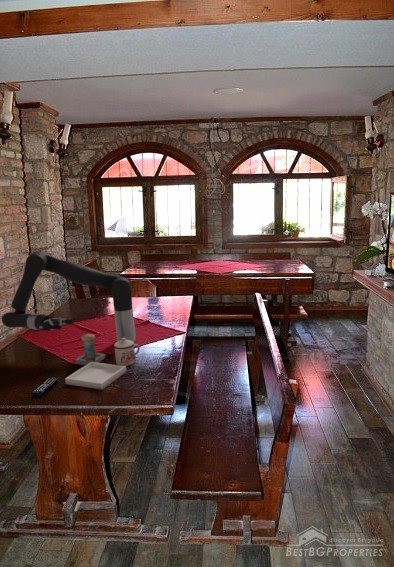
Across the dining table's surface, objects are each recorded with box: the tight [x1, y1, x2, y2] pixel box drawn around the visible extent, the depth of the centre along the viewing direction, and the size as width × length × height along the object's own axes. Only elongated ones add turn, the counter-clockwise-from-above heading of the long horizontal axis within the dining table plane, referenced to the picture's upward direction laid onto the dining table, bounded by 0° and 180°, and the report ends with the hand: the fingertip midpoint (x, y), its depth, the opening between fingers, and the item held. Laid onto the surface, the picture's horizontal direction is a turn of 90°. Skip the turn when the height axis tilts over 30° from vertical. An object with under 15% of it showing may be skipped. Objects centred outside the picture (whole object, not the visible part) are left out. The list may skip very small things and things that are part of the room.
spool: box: [81, 333, 97, 360], centre depth 208 cm, size 6×6×12 cm
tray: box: [64, 362, 127, 390], centre depth 190 cm, size 18×18×2 cm
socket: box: [74, 352, 106, 366], centre depth 209 cm, size 10×10×2 cm
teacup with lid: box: [113, 338, 141, 367], centre depth 205 cm, size 12×9×12 cm
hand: (66, 324), depth 210 cm, fingers open, 8 cm apart
